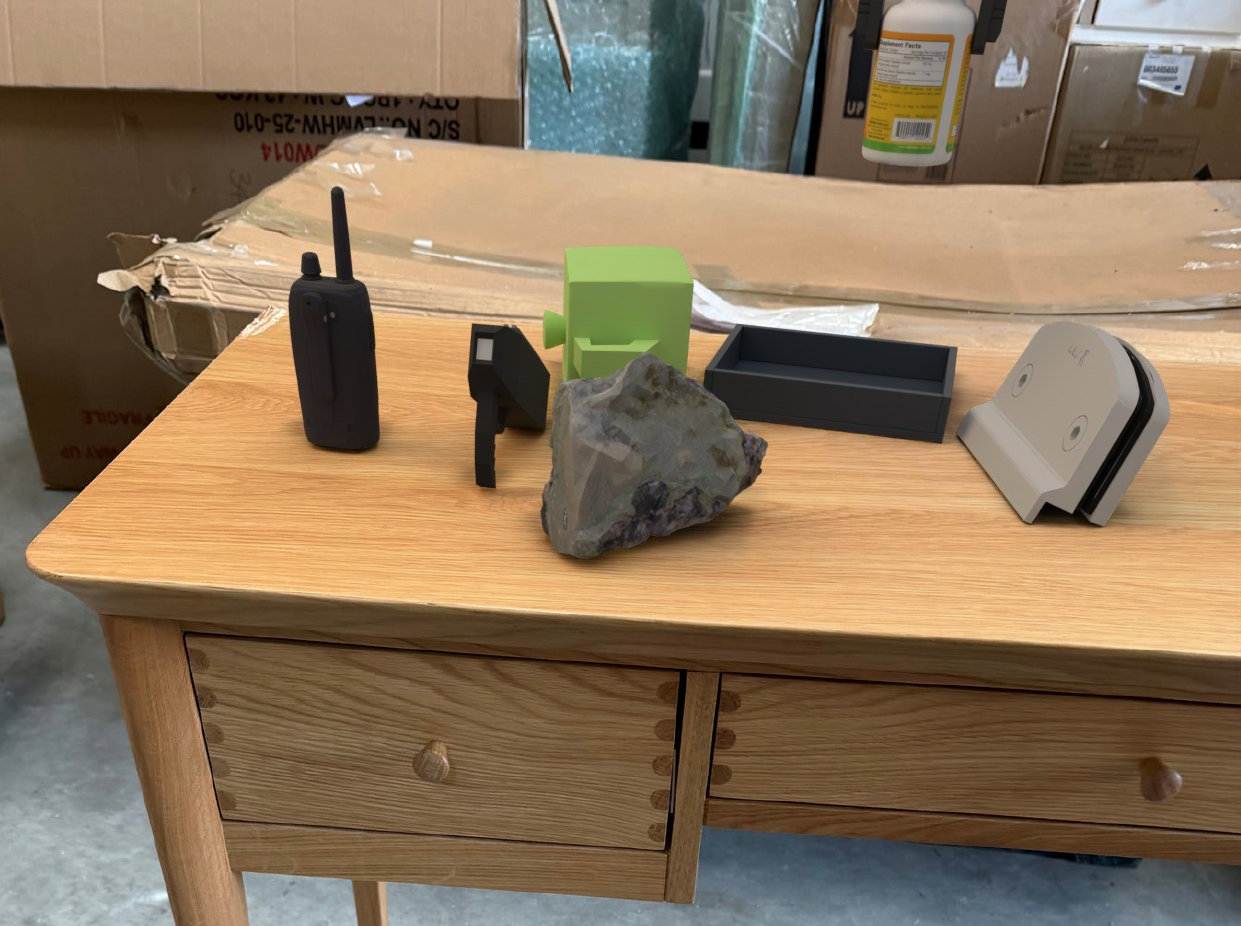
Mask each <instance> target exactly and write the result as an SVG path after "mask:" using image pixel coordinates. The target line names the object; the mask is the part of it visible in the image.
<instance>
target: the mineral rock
mask: <svg viewBox="0 0 1241 926" xmlns="http://www.w3.org/2000/svg"><path fill="white" fill-rule="evenodd" d="M552 399H553V400H552V405H551V408H552V410H551V417H552V420H553V423H552V429H551V434H550V437H549V439H548V447H549V448H550V449H552V453H551V465H552V467H551V471H550V475H549V476H550V477H549V480H548V481H547V483H544V486H543V490H542V493H541V501H542V505H541V507H540V511H539V513H540V520H541V526H542V531H543V532H544V534H545V535H547V536H548V537H549V540H550V543H551V546H552V547H553V548H554V550H555V551H556V552H557V553H559V554H566V555H571V556H573V557H574V558H575V557H576V558H578V559H582V560H588V559H593V558H595V557H598V556H600V555H601V553H602V552H609V551H616V550H617V549H619V548H621V549H630V548H633V547H635V546H638V545H639V544H642V543H643V542H646V541H647V540H648V539H649V538H650V536H653V537H656V538H662V537H663V538H664V537H669V536H670V535H671V534H672V533H673V532H676V531H677V530H678V531H679V530H682V529H685V528H689V527H691V526H696V525H704V524H706V523H708V522H709V521H712V520H713V519H714V518H715V517H718V515H720V514H721V513H723V512H724V511H725V510H726V509H727V508H728V506H730V504H731V503H732V502H733V501H734V499H735V498H736V497H737V496H738V495H740V494H741V493H742V492H743V491H745V490H746V489H748V488H750V487H752V486H753V484H755V483H756V481H757V478H758V477H759V476H760V475H761V474H762V473H763V469H762V468H761V466H762V464H763V463H762V462H763V460H764V457H765V456H767V455H766V454H767V449H768V448H769V443H768V441H767V440H765V438H762V437H761V436H758V435H757V434H755V433H753V432H749V431H747V432H745V431H744V430H743V428H741V426H740V425H739V424H738V423H737V421H736V420H735V418H733V417H732V416H731V415H730V412H729V409H728V408H727V406H726V404H725V403H724V402H722V401H721V400H719V399H718V398H717V397H716V396H715V395H714V394H713V393H711V392H710V391H709V390H707V389H706V388H704V387H703V384H702V383H700V382H699V381H698V380H696V379H694V378H690V377H688V376H686V377H684V375H683V374H682V372H681V371H680V370H678V369H677V368H674V367H673V366H671V365H670V364H667V363H664V362H662V361H661V360H660V359H659V358H657V357H656V356H654V355H652V354H650V353H646V352H642V354H641V355H640V356H639V357H638V358H637V359H632V360H631V361H630V362H629V363H628V364H627V365H626V366H625V367H624V368H623V369H622V370H616V371H615V372H614V373H612V374H611V375H610V376H608V377H606V378H600V377H598V378H595V379H591V380H590V379H586V378H582V379H574V380H568V381H563V380H562V381H560V382H559V384H558V387H557V389H556V390H555V393H554V395H553V398H552Z"/></svg>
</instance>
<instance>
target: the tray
mask: <svg viewBox="0 0 1241 926" xmlns="http://www.w3.org/2000/svg"><path fill="white" fill-rule="evenodd" d="M958 349H959V347H958V346H952V345H943V344H936V343H935V344H933V343H925V342H914V341H905V340H896V339H886V338H878V337H877V338H876V337H868V336H859V335H850V334H849V335H848V334H841V333H840V334H838V333H829V332H820V331H812V330H802V329H792V328H782V327H774V326H773V327H771V326H762V325H755V324H754V325H753V324H743V323H736V324H735V325H734V327H733V328H732V330H731V331H730V333H729V334H728V336H727V337H726V339H725V340H724V341H723V343H722V344H721V345H720V347H719V348H718V350H717V351H716V353H715V354H714V356H713V358H711V360H710V362H709V363H708V365H707V366H706V367H705V368H704V375H703V384H702V386H703V387H704V388H706V389H707V390H709V391H710V392H711V393H713V394H714V395H715V396H716V397H717V398H718V399H719V400H721V401H722V402H724V403H725V404H726V406H727V408H728V409H729V412H730V415H731V416H732V417H733V419H739V420H745V421H746V420H747V421H755V422H764V423H773V424H779V425H789V426H797V427H805V428H812V429H820V430H821V429H822V430H830V431H837V432H847V433H854V434H861V435H862V434H863V435H871V436H878V437H888V438H894V439H895V438H897V439H904V440H912V441H922V442H929V443H937V444H939V443H940V444H942V443H943V439H944V435H945V431H946V427H947V421H948V418H949V414H950V413H949V412H950V410H951V409H950V408H951V404H952V400H953V393H954V385H955V384H954V383H955V375H956V368H957V367H956V366H957V360H958V359H957V358H958Z"/></svg>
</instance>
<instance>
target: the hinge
mask: <svg viewBox="0 0 1241 926" xmlns="http://www.w3.org/2000/svg"><path fill="white" fill-rule="evenodd" d="M1171 412H1172V410H1171V405H1170V401H1169V396H1168V393H1167V391H1166V387H1165V384H1164V382H1163V379H1162V378H1161V376H1160V374H1159V373H1158V371H1157V369H1156V368H1155V366H1154V365H1153V364H1152V362H1151V361H1150V360H1149V359H1148V358H1147V357H1146V356H1144V355H1143V354H1142V353H1141V352H1140V351H1139V350H1138V349H1137V348H1136V347H1134V346H1133V344H1131V343H1130V342H1128V341H1126V340H1124V339H1123V338H1121V337H1120V336H1115V335H1113V334H1111V333H1109V332H1108V331H1106V330H1104V329H1102V328H1100V327H1096V326H1093V325H1089V324H1086V323H1085V324H1084V323H1080V322H1075V321H1069V320H1068V321H1055V322H1048V323H1045V324H1044V325H1042V326H1040V328H1039V329H1037V331H1036V332H1035V333H1034V335H1033V337H1032V338H1031V339H1030V341H1029V342H1028V344H1027V346H1026V347H1025V349H1024V351H1023V352H1022V353H1021V354H1020V356H1019V358H1018V359H1017V361H1016V362H1015V363H1014V365H1013V367H1012V368H1011V369H1010V371H1009V372H1008V374H1007V376H1006V377H1005V379H1004V380H1003V381H1002V383H1001V384H1000V386H999V388H998V389H997V391H996V392H995V393H994V395H993V396H992V398H991V399H990V400H989V401H986V402H984V403H980V404H977V405H974V406H971V408H969V410H968V411H967V412H966V414H965V416H964V418H963V420H962V421H961V423H960V425H959V426H958V428H957V429H956V431H955V433H956V434H957V436H958V438H960V440H961V441H962V442H963V443H964V445H965V446H966V447H967V449H968V450H969V451H970V452H971V454H972V455H973V457H974V458H975V460H976V461H977V462H978V463H979V464H980V465H981V467H982V469H983V470H984V471H985V472H986V473H987V475H988V476H989V478H991V480H992V481H993V482H994V484H995V485H996V487H997V488H998V489H999V490H1000V492H1001V493H1002V494H1003V496H1004V497H1005V498H1006V500H1007V501H1008V502H1009V504H1010V505H1011V506H1012V508H1013V509H1014V510H1015V511H1016V513H1017V514H1018V515H1019V516H1020V518H1021V519H1022V520H1023V522H1025V523H1028V524H1030V525H1031V524H1032V523H1033V522H1034V520H1035V518H1037V516H1038V514H1039V513H1040V511H1041V510H1042V508H1043V507H1044V505H1045V504H1046V503H1048V504H1050V505H1053V506H1055V507H1057V508H1058V509H1061V510H1063V511H1065V512H1067V513H1069V514H1071V515H1073V514H1074V511H1075V510H1077V511H1079V512H1081V513H1082V515H1083V516H1084V517H1085V518H1086V519H1087V520H1088V521H1089V522H1090V523H1093V524H1096V525H1099V526H1101V527H1106V525H1107V523H1108V522H1109V520H1110V518H1111V517H1112V515H1113V513H1114V512H1115V511H1116V509H1117V508H1118V506H1119V504H1120V502H1121V501H1122V499H1123V497H1124V496H1125V494H1126V493H1127V491H1128V489H1129V488H1130V486H1131V484H1132V483H1133V481H1134V479H1135V478H1136V476H1137V475H1138V473H1139V471H1140V469H1142V467H1143V465H1144V463H1145V462H1146V460H1147V458H1148V457H1149V455H1150V453H1151V452H1152V450H1153V448H1154V447H1155V446H1156V444H1157V442H1158V441H1159V439H1160V438H1161V435H1162V434H1163V432H1164V431H1165V429H1166V427H1167V426H1168V424H1169V421H1170V419H1171V415H1172V414H1171Z"/></svg>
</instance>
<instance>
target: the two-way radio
mask: <svg viewBox="0 0 1241 926" xmlns="http://www.w3.org/2000/svg"><path fill="white" fill-rule="evenodd" d="M330 203H331V205H330V206H331V223H332V237H333V238H332V239H333V252H334V266H335V276H327V275H322V267H321V264H320V260H319V257H318V254H317V253H316V252H314V251H306V252H303V253H302V254H301V263H300V273H301V274H302V275H301V276H300V277H299V278H297V279H296V280H294V281H293V282H292V284H291V286H290V289H289V295H288V303H287V304H288V306H287V307H288V308H287V309H288V320H289V334H290V335H289V336H290V343H291V350H292V358H293V366H294V372H295V377H296V383H297V391H298V397H299V403H300V409H301V415H302V423H303V431H304V435H305V437H306V440H307V442H309V443H311V444H313V445H315V446H323V447H329V448H337V449H346V450H358V451H361V452H362V451H364V450H365V449H367V448H372V447H374V446H376V445H378V443H379V441H380V440H381V429H380V405H379V403H380V401H379V400H380V398H379V384H378V383H379V382H378V371H377V370H378V369H377V357H376V346H377V345H376V332H375V331H376V330H375V322H374V315H373V311H372V306H371V300H370V295H369V291H368V287H367V286H366V284H365V283H364V282H363V281H361V280H360V279H356V278H355V276H354V271H353V262H352V261H353V259H352V250H351V240H350V231H349V223H348V215H347V206H346V205H347V204H346V198H345V191H344V189H343V188H342V187H340V186H338V185H337V186H336V185H335V186H333V187H332V188H331V191H330Z"/></svg>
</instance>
